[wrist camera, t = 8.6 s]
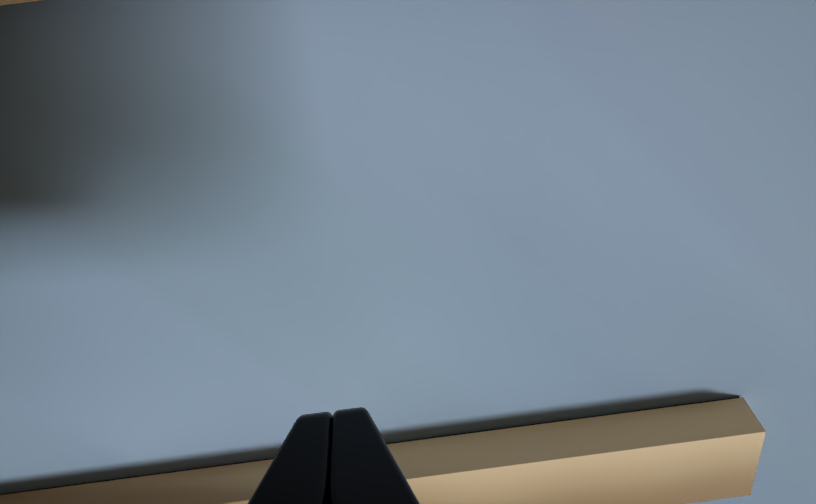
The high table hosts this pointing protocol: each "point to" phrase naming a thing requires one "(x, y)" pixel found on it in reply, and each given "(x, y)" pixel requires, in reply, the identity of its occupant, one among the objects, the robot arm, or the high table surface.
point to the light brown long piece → (511, 463)
